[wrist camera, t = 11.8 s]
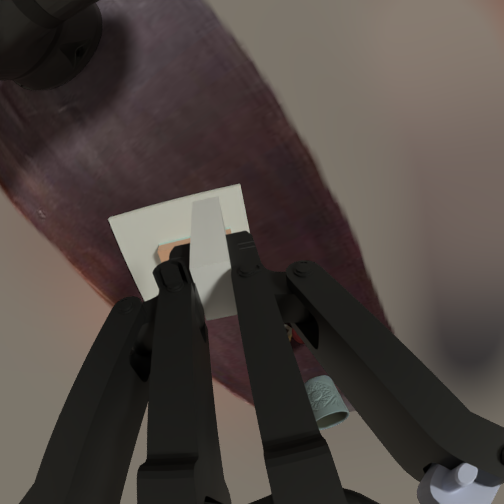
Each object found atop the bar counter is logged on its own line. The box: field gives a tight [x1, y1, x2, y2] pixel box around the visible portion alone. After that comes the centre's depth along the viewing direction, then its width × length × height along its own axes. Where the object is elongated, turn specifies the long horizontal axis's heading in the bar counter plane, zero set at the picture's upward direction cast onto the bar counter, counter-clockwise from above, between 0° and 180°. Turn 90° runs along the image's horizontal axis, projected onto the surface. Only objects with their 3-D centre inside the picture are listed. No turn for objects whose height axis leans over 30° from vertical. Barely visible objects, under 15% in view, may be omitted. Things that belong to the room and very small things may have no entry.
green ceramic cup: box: [304, 376, 349, 430], centre depth 67 cm, size 10×10×12 cm
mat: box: [108, 184, 250, 301], centre depth 45 cm, size 20×20×1 cm
